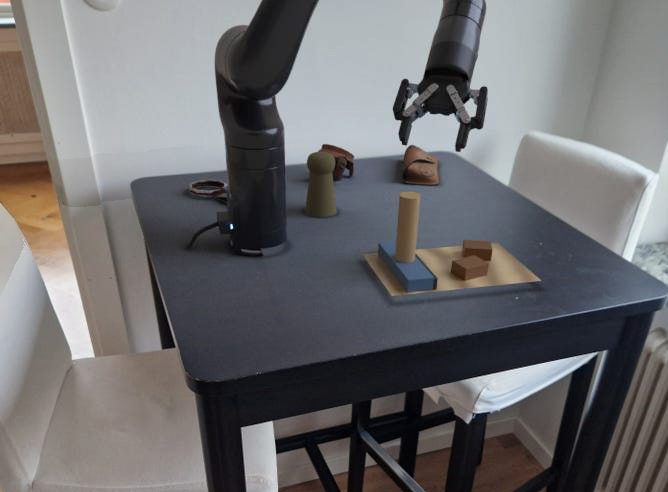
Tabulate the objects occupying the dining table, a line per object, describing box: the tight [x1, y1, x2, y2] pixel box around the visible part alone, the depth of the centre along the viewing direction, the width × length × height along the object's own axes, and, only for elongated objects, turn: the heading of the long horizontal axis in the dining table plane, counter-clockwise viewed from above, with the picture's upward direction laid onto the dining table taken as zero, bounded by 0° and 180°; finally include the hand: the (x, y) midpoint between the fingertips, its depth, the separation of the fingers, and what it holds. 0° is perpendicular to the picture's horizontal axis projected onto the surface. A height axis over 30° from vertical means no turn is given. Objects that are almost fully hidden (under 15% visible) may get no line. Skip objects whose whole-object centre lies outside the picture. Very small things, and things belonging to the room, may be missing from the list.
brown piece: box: [308, 143, 355, 183], centre depth 143 cm, size 12×10×8 cm
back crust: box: [462, 239, 493, 261], centre depth 109 cm, size 4×3×2 cm
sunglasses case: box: [401, 144, 440, 186], centre depth 151 cm, size 18×7×7 cm
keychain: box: [188, 179, 228, 204], centre depth 132 cm, size 8×19×2 cm, turn 55°
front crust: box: [451, 255, 489, 281], centre depth 103 cm, size 4×3×2 cm
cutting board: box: [361, 242, 542, 297], centre depth 106 cm, size 24×15×2 cm, turn 106°
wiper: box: [377, 191, 438, 292], centre depth 101 cm, size 5×14×12 cm, turn 16°
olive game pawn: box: [304, 151, 337, 218], centre depth 126 cm, size 6×6×11 cm
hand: (430, 146), depth 105 cm, fingers open, 8 cm apart
